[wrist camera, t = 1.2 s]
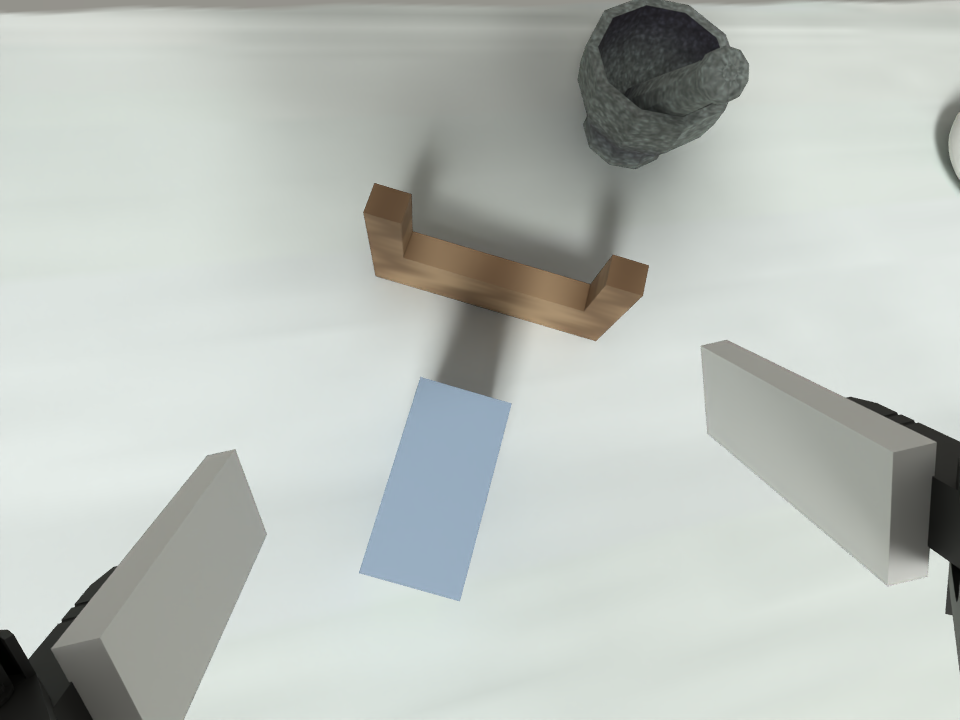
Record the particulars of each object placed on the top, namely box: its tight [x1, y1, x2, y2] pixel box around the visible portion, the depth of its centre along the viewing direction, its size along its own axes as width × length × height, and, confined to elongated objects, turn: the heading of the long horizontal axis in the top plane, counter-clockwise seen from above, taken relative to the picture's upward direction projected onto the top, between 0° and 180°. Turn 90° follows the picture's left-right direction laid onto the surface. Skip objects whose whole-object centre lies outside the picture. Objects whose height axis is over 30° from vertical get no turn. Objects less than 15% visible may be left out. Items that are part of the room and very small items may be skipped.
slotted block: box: [359, 377, 511, 601], centre depth 27 cm, size 4×8×11 cm, turn 165°
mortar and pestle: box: [578, 0, 749, 169], centre depth 35 cm, size 11×9×12 cm
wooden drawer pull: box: [363, 183, 649, 341], centre depth 33 cm, size 15×2×8 cm, turn 75°
